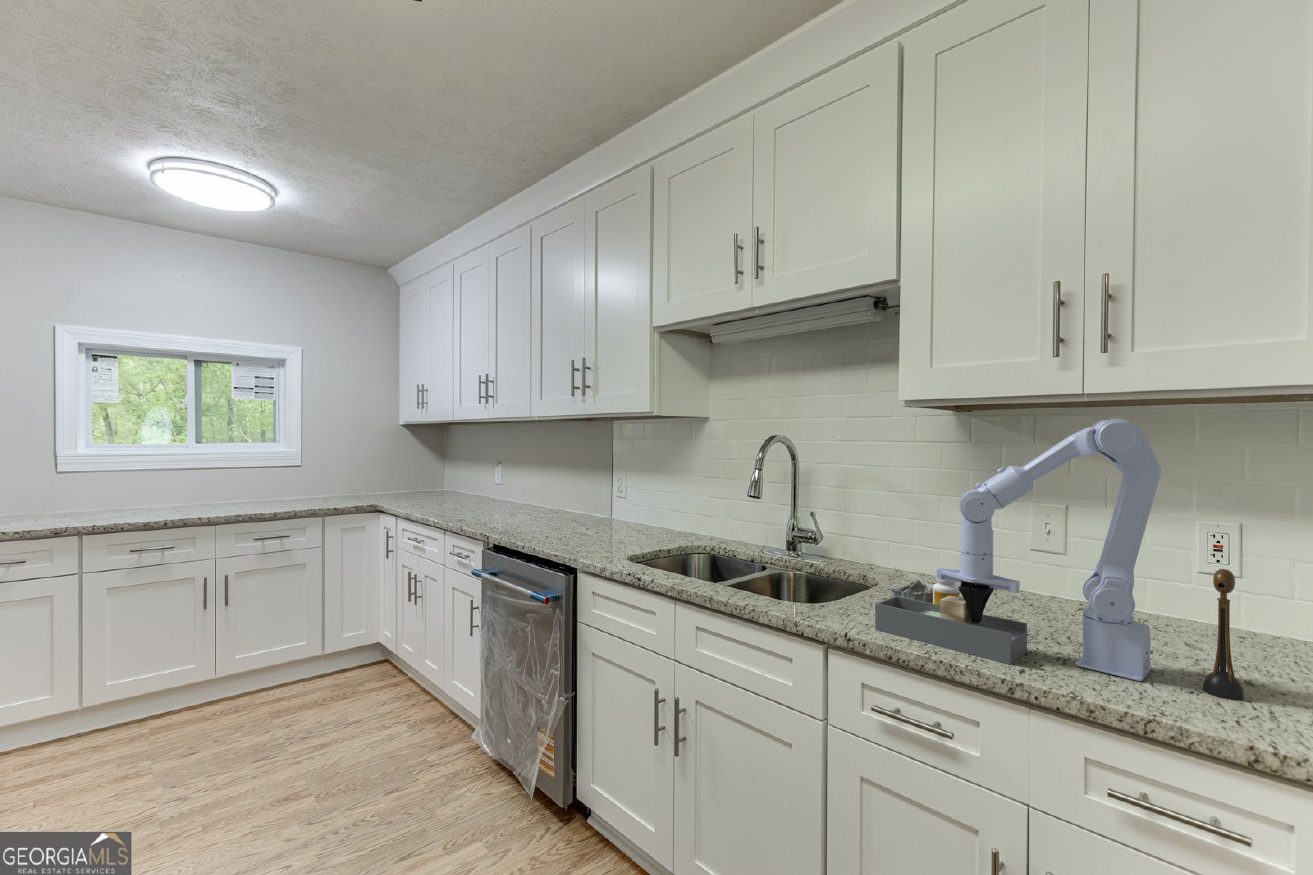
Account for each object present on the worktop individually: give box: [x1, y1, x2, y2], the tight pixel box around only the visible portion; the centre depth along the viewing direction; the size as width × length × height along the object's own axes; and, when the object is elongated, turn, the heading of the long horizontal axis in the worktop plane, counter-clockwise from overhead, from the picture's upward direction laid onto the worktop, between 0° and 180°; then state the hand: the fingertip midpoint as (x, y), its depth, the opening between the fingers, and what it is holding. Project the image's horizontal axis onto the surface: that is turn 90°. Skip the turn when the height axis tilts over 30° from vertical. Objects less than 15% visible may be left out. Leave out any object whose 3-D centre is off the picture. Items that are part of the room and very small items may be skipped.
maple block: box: [940, 596, 972, 624], centre depth 120 cm, size 4×4×4 cm
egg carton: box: [888, 579, 933, 603], centre depth 150 cm, size 11×8×4 cm
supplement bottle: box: [932, 578, 961, 605], centre depth 135 cm, size 5×5×10 cm
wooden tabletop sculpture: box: [1202, 568, 1244, 701], centre depth 96 cm, size 6×5×20 cm
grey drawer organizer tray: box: [874, 596, 1028, 665], centre depth 121 cm, size 26×9×6 cm, turn 42°
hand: (976, 622), depth 117 cm, fingers closed
